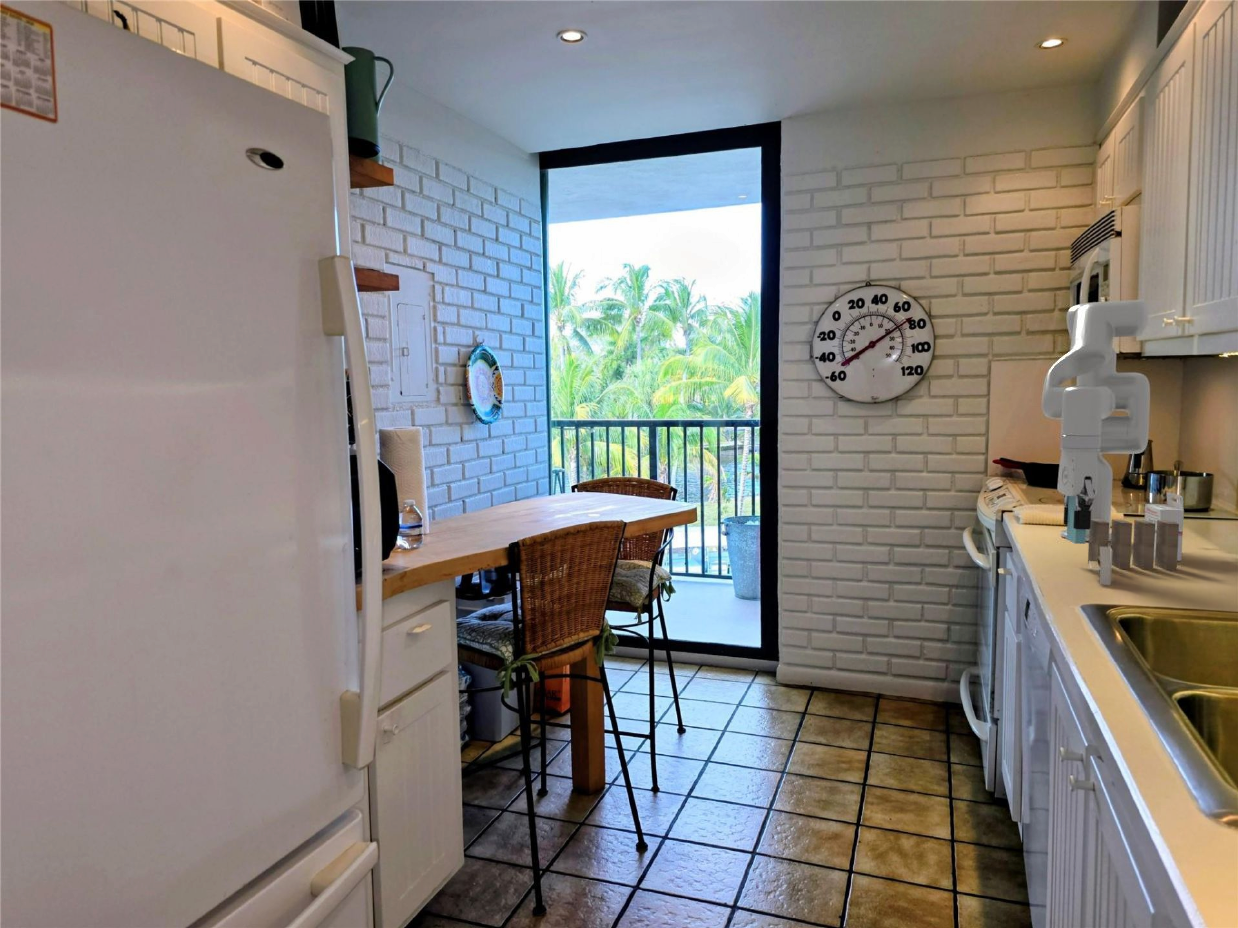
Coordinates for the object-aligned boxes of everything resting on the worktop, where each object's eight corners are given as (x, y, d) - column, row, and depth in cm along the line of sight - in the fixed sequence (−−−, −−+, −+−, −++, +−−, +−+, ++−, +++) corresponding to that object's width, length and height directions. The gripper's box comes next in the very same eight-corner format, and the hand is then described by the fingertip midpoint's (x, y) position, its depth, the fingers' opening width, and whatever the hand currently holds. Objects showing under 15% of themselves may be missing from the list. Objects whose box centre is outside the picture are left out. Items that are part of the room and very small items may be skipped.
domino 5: (1154, 565, 176) (1157, 520, 175) (1164, 565, 176) (1167, 520, 175) (1166, 570, 171) (1168, 523, 170) (1176, 570, 171) (1178, 524, 170)
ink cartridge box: (1141, 553, 189) (1144, 490, 188) (1164, 553, 188) (1168, 491, 187) (1157, 560, 181) (1161, 495, 179) (1182, 561, 180) (1186, 496, 178)
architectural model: (1090, 586, 160) (1092, 549, 160) (1088, 578, 166) (1089, 543, 166) (1110, 587, 159) (1112, 550, 158) (1107, 580, 165) (1108, 544, 164)
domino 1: (1066, 539, 178) (1068, 494, 177) (1076, 539, 178) (1078, 494, 177) (1075, 543, 173) (1077, 497, 173) (1085, 543, 173) (1087, 497, 172)
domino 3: (1109, 564, 177) (1112, 519, 176) (1119, 564, 177) (1121, 519, 176) (1119, 569, 173) (1121, 523, 172) (1130, 569, 172) (1132, 523, 171)
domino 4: (1132, 564, 177) (1134, 519, 176) (1142, 564, 176) (1144, 519, 175) (1142, 569, 172) (1145, 523, 171) (1153, 569, 171) (1155, 523, 170)
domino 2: (1087, 563, 178) (1089, 518, 177) (1097, 563, 178) (1099, 519, 177) (1097, 568, 173) (1099, 522, 172) (1107, 568, 173) (1109, 522, 172)
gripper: (1047, 441, 183) (1044, 520, 184) (1076, 446, 166) (1072, 533, 168) (1083, 441, 182) (1080, 521, 183) (1116, 446, 165) (1112, 534, 166)
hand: (1076, 526), depth 175 cm, fingers closed on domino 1, 4 cm apart
